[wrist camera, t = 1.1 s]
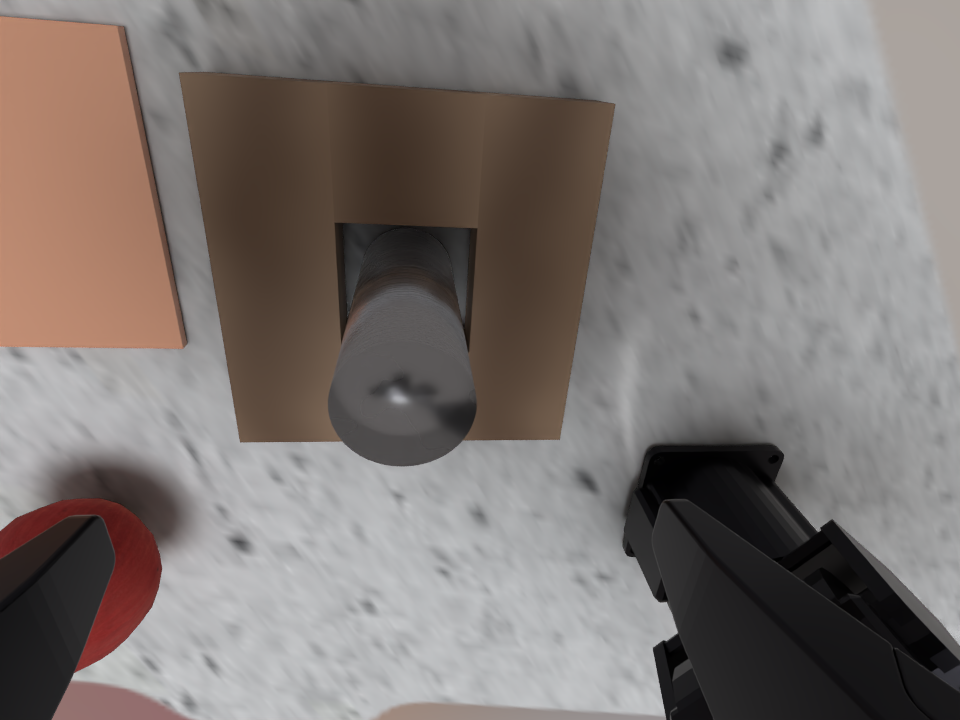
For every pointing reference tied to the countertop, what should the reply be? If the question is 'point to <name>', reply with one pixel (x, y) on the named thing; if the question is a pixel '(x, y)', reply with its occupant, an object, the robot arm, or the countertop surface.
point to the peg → (403, 356)
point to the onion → (129, 579)
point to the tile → (78, 195)
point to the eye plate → (393, 201)
